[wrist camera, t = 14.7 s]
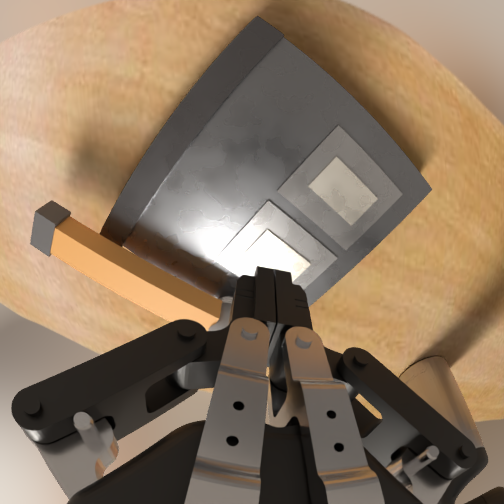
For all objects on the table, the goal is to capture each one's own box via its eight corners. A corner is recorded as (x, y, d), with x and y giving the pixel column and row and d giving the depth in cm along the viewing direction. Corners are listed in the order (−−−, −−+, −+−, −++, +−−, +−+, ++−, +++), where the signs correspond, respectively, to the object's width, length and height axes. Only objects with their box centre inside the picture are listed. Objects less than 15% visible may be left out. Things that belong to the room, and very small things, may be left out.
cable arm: (53, 199, 22) (33, 212, 19) (249, 308, 27) (248, 331, 24) (46, 230, 24) (29, 245, 21) (230, 331, 28) (227, 354, 26)
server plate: (417, 179, 25) (437, 192, 21) (266, 322, 33) (267, 347, 30) (255, 26, 19) (255, 14, 15) (113, 218, 27) (96, 235, 24)
